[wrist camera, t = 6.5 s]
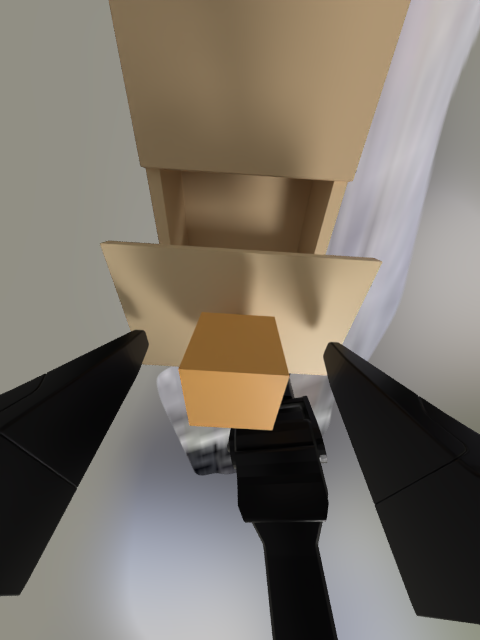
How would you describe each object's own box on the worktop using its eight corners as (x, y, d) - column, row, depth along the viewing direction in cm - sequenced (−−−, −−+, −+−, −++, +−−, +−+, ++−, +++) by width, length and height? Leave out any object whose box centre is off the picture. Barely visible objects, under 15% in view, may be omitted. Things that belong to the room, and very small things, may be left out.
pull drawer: (323, 368, 12) (366, 460, 8) (147, 357, 12) (90, 444, 8) (373, 258, 8) (522, 321, 4) (109, 240, 8) (-53, 285, 4)
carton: (297, 275, 19) (314, 299, 14) (184, 268, 19) (164, 290, 14) (356, 32, 11) (443, -103, 6) (155, 16, 11) (83, -132, 6)
